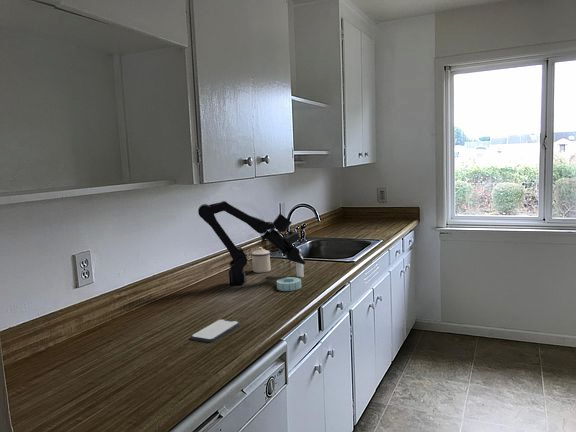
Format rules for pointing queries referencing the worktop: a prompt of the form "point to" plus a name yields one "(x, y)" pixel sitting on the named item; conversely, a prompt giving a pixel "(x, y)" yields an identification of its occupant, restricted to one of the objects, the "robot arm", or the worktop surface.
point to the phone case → (215, 330)
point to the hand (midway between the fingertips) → (302, 261)
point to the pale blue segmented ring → (288, 284)
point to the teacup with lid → (260, 260)
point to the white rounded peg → (300, 267)
